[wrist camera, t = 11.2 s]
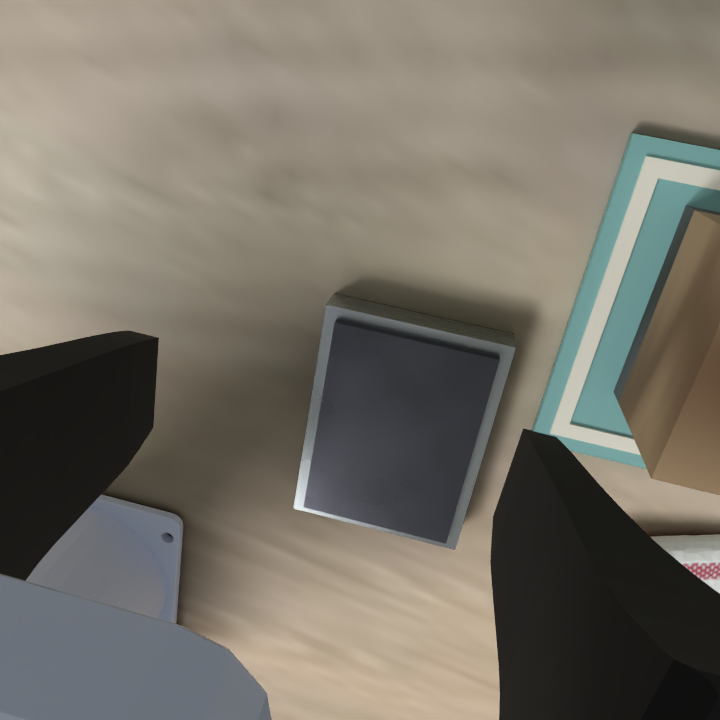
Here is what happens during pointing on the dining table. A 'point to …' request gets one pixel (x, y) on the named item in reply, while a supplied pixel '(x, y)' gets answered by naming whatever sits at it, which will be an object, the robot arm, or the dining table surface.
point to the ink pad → (400, 418)
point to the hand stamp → (679, 361)
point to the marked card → (622, 292)
